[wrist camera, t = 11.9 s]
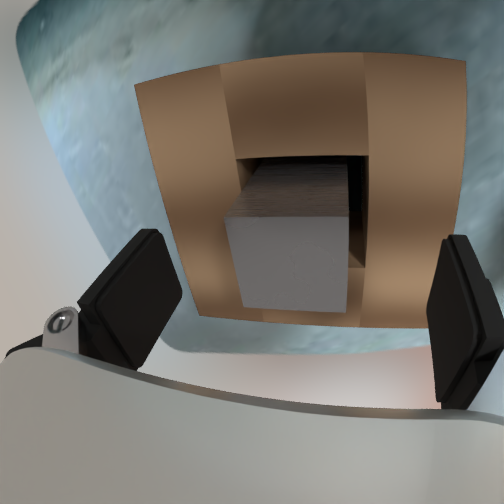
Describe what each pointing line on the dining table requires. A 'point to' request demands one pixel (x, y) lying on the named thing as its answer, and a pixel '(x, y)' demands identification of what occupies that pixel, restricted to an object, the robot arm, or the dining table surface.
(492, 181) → the dining table surface
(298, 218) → the square bit
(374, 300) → the socket block
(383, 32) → the dining table surface
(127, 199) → the dining table surface
